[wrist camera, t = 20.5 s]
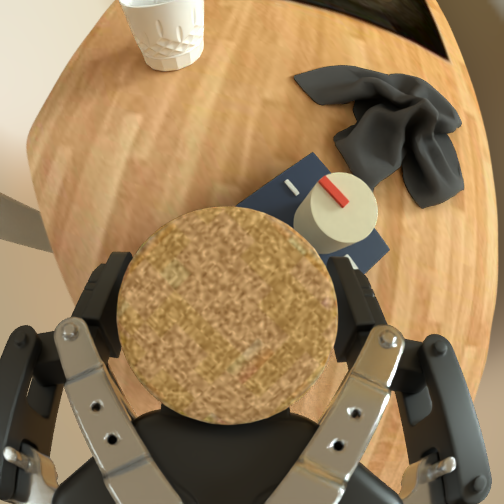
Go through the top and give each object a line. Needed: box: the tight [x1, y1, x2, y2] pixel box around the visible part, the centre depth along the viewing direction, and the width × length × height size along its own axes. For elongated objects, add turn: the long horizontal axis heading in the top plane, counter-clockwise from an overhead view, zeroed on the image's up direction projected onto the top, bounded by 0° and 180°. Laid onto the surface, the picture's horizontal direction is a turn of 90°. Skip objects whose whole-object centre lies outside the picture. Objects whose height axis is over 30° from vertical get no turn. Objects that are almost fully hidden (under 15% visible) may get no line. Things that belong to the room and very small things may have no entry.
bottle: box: [117, 206, 338, 425], centre depth 13 cm, size 6×6×15 cm
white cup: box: [119, 0, 204, 71], centre depth 22 cm, size 8×8×10 cm
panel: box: [235, 152, 390, 274], centre depth 23 cm, size 17×10×3 cm, turn 128°
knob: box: [294, 172, 378, 254], centre depth 19 cm, size 4×4×5 cm
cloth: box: [294, 65, 464, 208], centre depth 24 cm, size 22×19×6 cm
